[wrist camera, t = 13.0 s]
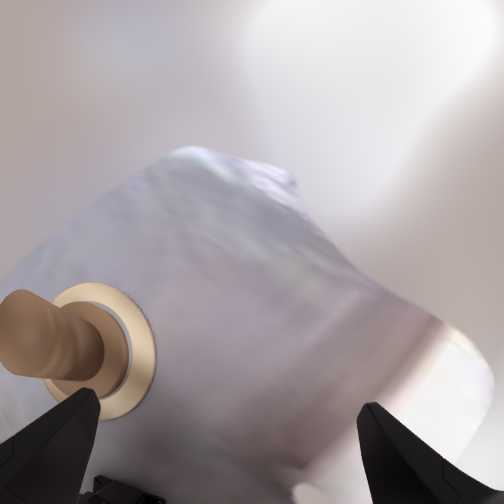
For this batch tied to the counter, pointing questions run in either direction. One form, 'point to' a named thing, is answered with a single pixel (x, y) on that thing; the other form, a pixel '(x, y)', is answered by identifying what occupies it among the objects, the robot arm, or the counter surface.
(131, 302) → the plate
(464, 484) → the robot arm
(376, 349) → the counter surface
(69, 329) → the brown flanged knob
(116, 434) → the counter surface
